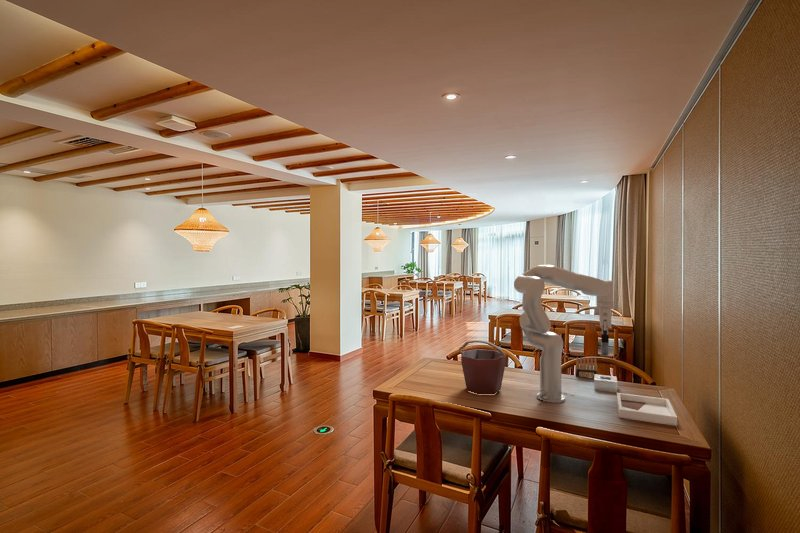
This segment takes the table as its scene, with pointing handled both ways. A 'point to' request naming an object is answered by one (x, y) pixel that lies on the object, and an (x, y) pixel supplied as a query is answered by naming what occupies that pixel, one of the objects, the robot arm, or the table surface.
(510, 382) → the table surface
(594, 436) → the table surface
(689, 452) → the table surface
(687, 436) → the table surface
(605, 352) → the pin
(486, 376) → the bucket
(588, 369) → the ammunition clip
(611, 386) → the block
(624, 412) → the tray
